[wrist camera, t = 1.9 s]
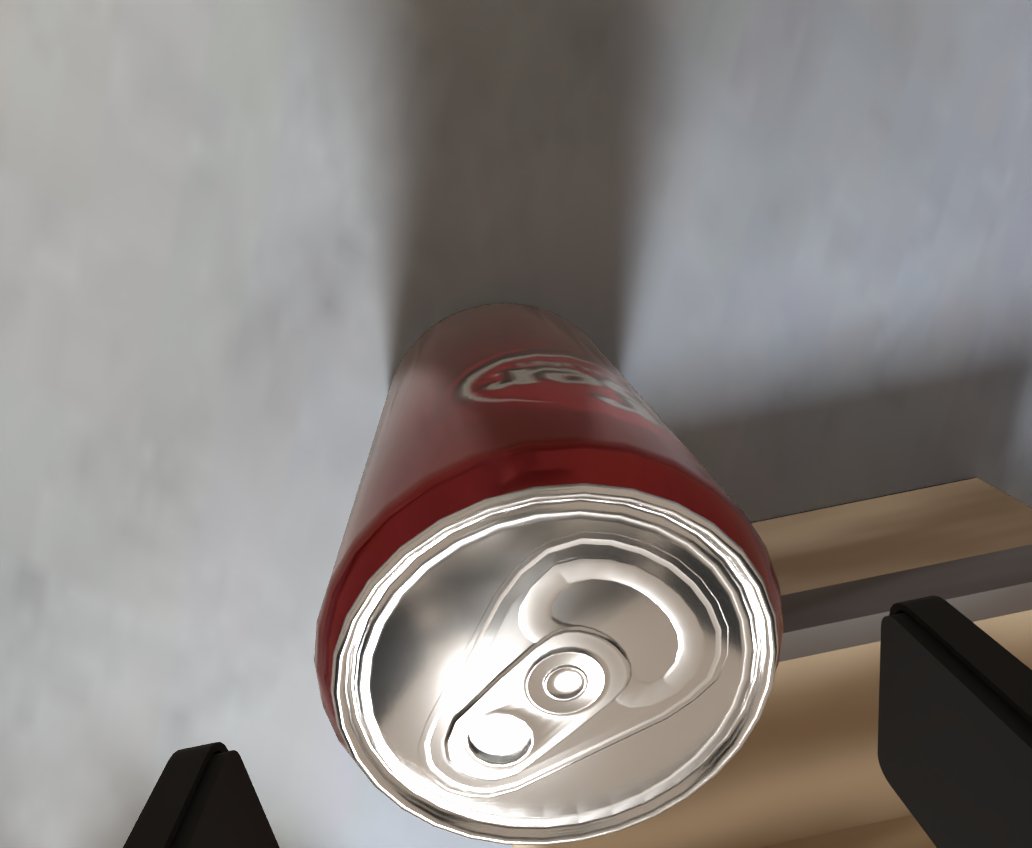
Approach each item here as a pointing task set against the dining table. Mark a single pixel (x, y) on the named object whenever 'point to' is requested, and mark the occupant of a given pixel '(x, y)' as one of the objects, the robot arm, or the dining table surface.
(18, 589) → the dining table surface
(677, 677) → the soda can
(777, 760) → the shelf
